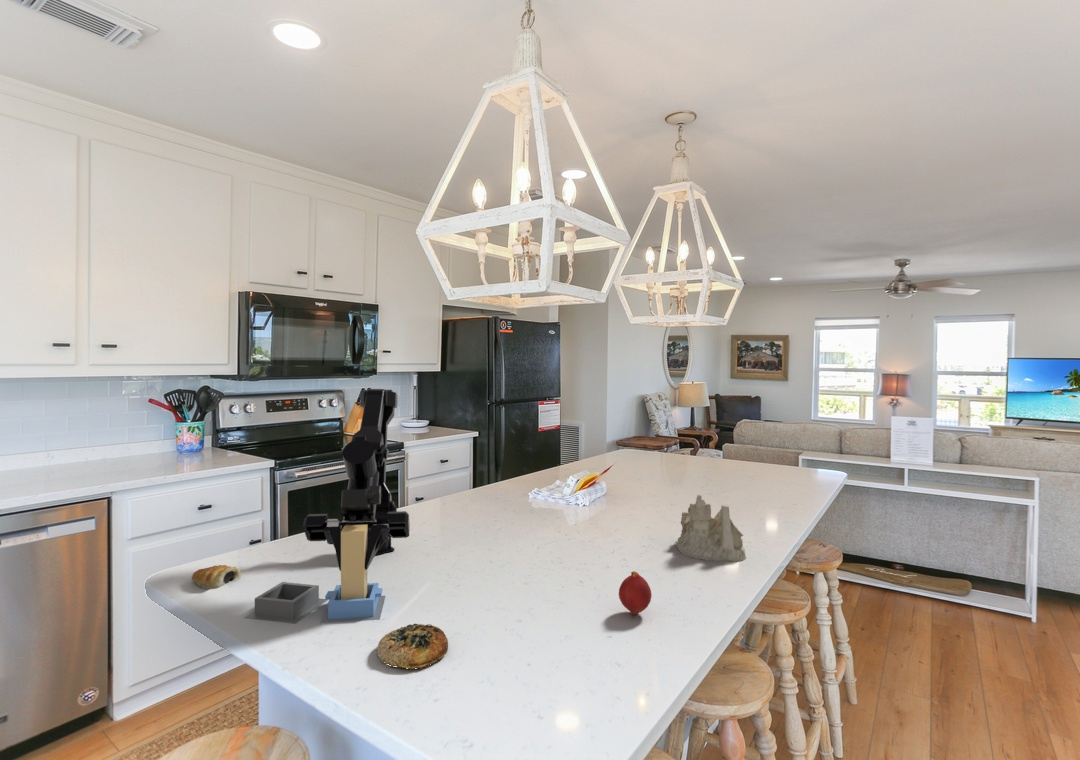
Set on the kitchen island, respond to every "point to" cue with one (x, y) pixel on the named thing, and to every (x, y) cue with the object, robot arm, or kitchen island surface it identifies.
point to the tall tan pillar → (353, 562)
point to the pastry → (216, 576)
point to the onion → (635, 593)
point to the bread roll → (413, 646)
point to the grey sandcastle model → (710, 534)
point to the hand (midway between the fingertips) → (353, 569)
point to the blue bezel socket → (354, 606)
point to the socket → (287, 603)
